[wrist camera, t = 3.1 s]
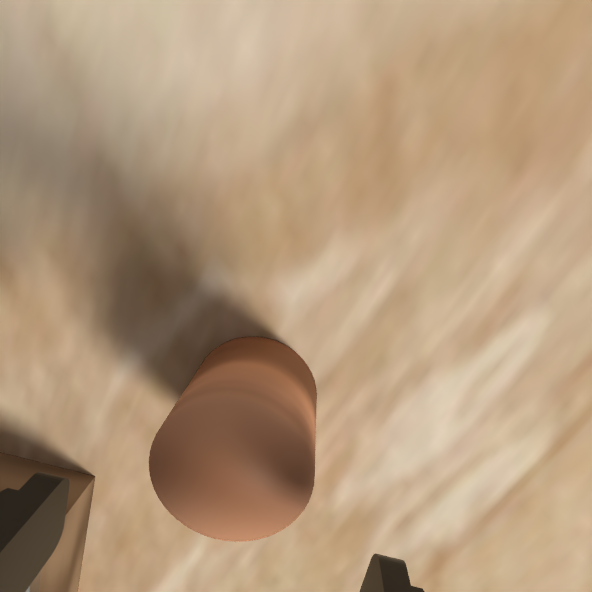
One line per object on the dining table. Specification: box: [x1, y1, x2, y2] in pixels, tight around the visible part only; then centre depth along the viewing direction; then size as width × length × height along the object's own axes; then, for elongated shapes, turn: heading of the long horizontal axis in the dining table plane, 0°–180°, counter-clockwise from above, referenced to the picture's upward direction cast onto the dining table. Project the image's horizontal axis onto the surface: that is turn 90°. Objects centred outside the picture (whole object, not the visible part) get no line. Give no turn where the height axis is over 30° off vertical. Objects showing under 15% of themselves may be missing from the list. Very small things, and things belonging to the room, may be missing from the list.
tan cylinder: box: [149, 337, 317, 541], centre depth 16 cm, size 5×5×5 cm
